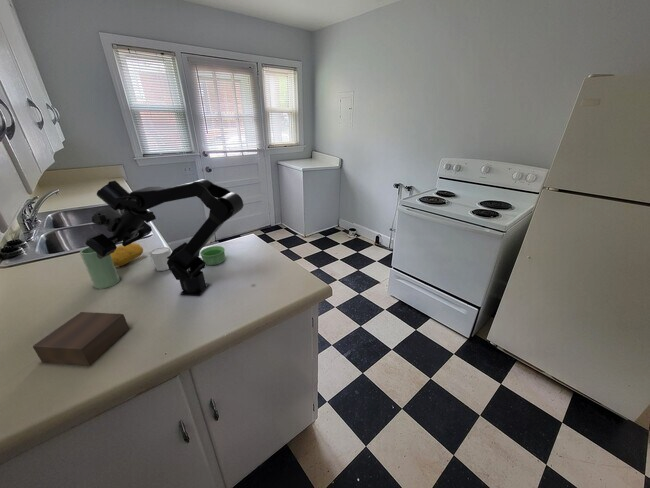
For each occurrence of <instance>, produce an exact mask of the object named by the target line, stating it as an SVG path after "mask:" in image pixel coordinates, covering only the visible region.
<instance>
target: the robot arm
mask: <svg viewBox="0 0 650 488" xmlns="http://www.w3.org/2000/svg"><path fill="white" fill-rule="evenodd" d="M96 196H97V197H98V198H99V200H102V201H103V202H104V203H105V204H106V205H108V206H109V207H110V208H104V209H101V210H98V211H96V212H94V213H93V215H92V216H91V222H92V223H93V224H95V225H96V226H98V227H100V226H104V227H107V228H106V230H107V231H108V232H109V233H112V236H110V237H108V236H107V235H105V234H104V233H96V234H93V235H92V236H89V237H87V239H86V240H85V242H84V243H85V246H87V247H90V248H91V249H93V250H94V251H95V252H96V253H97V257H98V258H99V259H101V258H103V257H106V256H108V255H110V254H111V253H113V252H114V251H115V250H116V248H117V247H118V246H117V245H118V244H120V243H121V242H122V243H121V246H122V245H123V246H124V247H125V246H127V245H129V244H131V243H135V242H137V241H139V240H141V239H143V238H145V237H147V236H148V235H150V234H151V233H152V231H153V229H152V226H151V225H150V224H148V223H150V222H153V221H154V220H157V216H156V215H155V214H154V211H151V210H150V209H152V208H155V207H157V206H160V205H162V204H164V203H168V202H174V201H178V200H185V199H190V198H195V197H197V198H198V199H199V200H200V201H201V202H202V203H203V204H204V206H205V207H206V208H207V209H209V214H208V217H207V219H206V220H205V221H204V222H203V224H202V225H200V227H199V229H198V230H197V231H196V232H195V233H194V235H193V236H192V237H191V238H190V239H189V241H188V242H186V241H184V242H183V243H182V244H180V245H178V246H177V247H175V248H174V249H173V250H172V251H171V255H170V256H168V257H167V259H168V261H167V265H168V267H169V269H168V270H169V271H170V272H171V274H172V275H173V277H174V279H175V280H176V281H179V284H180V287H181V292H180V295H181V296H199V297H200V296H201V295H202V294H203V293H204V291H205V290H206V289H207V288H208V287H209V286H210V284H209V283H208V282H206V280H205V279H206V278H205V275H204V271H203V269H205V268H206V263H205V262H204V261H203V259H202V257H200V256H201V255H200V252H201V251H202V250H203V249H204V247H205V246H206V244H207V243H208V242H209V241H210V240H211V239H212V237H214V235H215V234H216V233H217V232H218V230H219V229H220V228H221V227H222V226H223V225H224V223H226V222H227V221H228V220H230V219H231V218H232V217H234V216H235V215H236V214H238V213H239V212H240V211H242V210H243V208H244V206H245V205H244V200H243V198H242V197H241V196H240V195H239V194H238V193H236V192H232V191H230V189H227V188H226V187H223V186H221V185H217V184H215V183H213V182H212V181H210V180H208V179H206V178H202V179H199V180H195V181H191V182H187V183H182V184H177V185H172V186H166V187H161V186H147V187H143V188H140V189H137V190H133V191H130V192H129V191H128V190H126V188H124V187H123V186H122V185H121V184H120V183H119V182H118V181H117V180H111V181H108V182H107V184H106V185H104V186H102V187H101V188H100V189H98V190H97V191H96ZM118 210H120V211H123V212H122V213H120V212H119V211H118Z"/></svg>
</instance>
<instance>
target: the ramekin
mask: <svg viewBox="0 0 650 488" xmlns="http://www.w3.org/2000/svg"><path fill="white" fill-rule="evenodd" d="M225 249H226V248H225V247H223V246H221V245H213V246H207V247H205V248H202V249H201V250H200V255H199V256H201V259H202V260H203V261H204V262H205V263H206V264H205V266H206V265H207V266H215V265H219V264H221V263H223V262H224V261H225V260H226V255H225V254H226V253H225Z"/></svg>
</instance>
